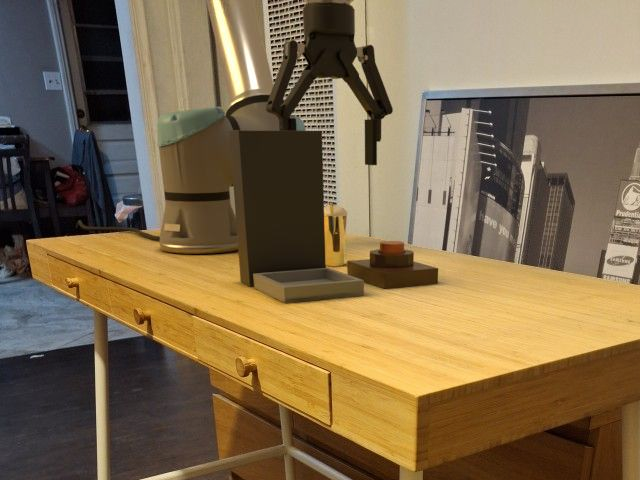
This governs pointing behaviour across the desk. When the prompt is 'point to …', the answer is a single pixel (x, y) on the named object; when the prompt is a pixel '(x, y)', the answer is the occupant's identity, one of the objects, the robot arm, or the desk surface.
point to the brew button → (392, 247)
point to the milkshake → (334, 234)
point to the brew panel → (392, 270)
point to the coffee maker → (283, 216)
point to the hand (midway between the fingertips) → (332, 165)
